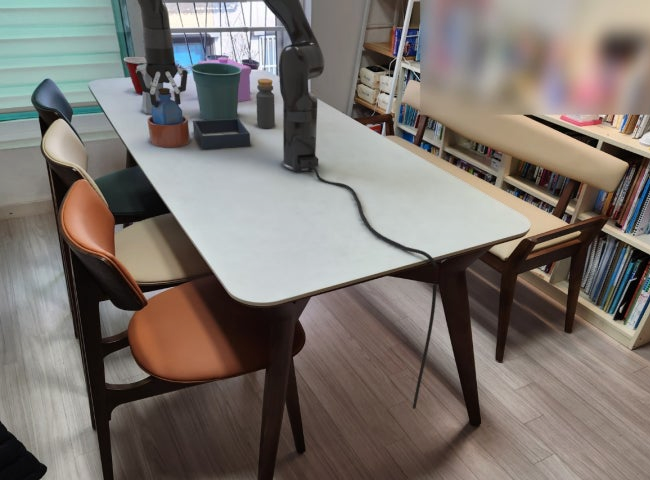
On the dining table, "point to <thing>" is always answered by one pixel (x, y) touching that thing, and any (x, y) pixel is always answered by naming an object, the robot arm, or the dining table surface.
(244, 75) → the teapot
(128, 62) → the plastic cup
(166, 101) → the perfume bottle
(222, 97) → the flower pot
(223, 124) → the tray
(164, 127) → the round terracotta bowl
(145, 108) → the coffee maker
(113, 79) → the dining table surface
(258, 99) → the bottle
